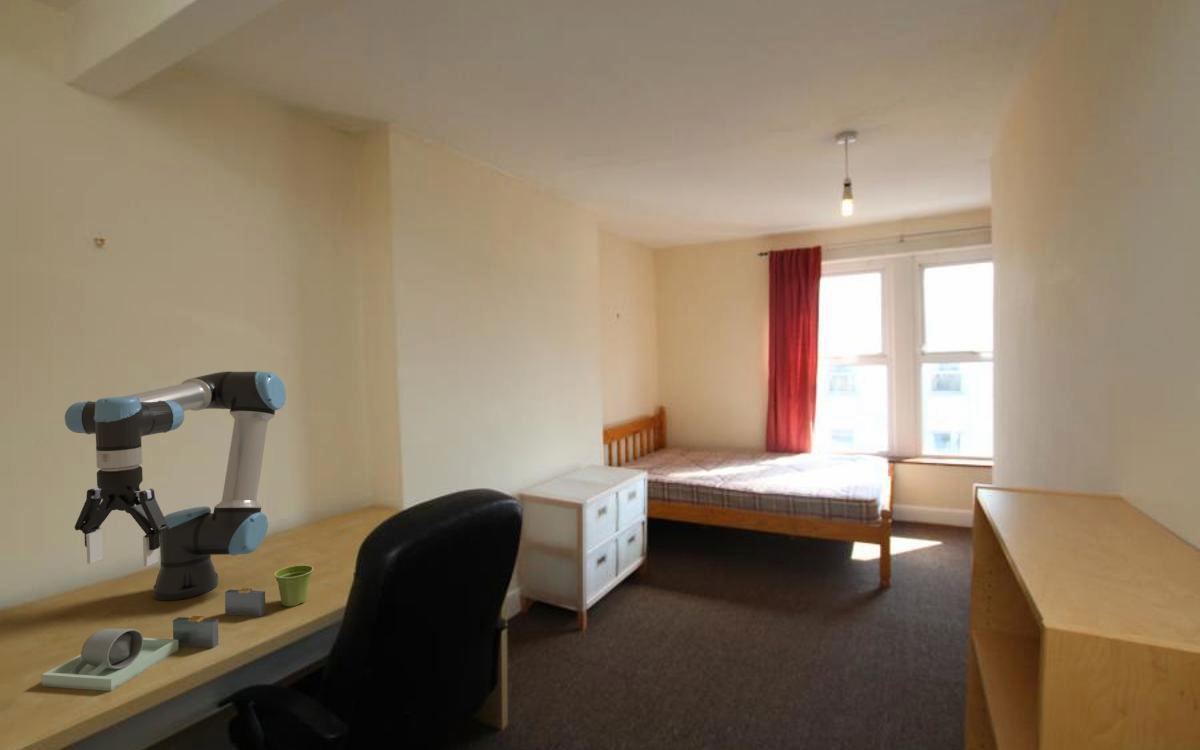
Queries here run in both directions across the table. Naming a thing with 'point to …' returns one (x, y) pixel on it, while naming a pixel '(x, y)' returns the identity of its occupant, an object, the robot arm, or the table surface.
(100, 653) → the ceramic mug
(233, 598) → the grey cases
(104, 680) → the tray
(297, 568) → the plant pot
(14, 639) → the table surface
